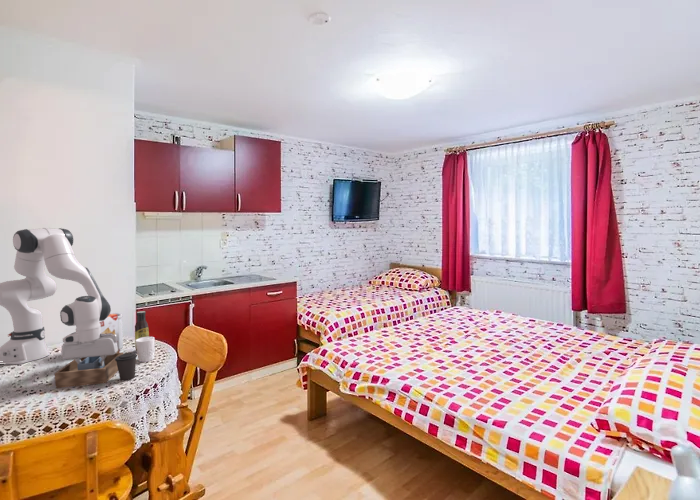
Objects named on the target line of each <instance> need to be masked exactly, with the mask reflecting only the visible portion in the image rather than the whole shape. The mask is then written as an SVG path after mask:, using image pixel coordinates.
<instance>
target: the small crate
mask: <svg viewBox="0 0 700 500" xmlns="http://www.w3.org/2000/svg"><path fill="white" fill-rule="evenodd" d="M101 360H102V358H101V356H96V357H87V358H86V359H84V360H83V361H82V362H80V363H79V364H78V365H77V366H78V370H88V369H98V368H103V367H104V366H105V364H104V365H103V366H99V364H98V362H100V361H101Z"/></svg>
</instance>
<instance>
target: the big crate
mask: <svg viewBox="0 0 700 500" xmlns="http://www.w3.org/2000/svg"><path fill="white" fill-rule="evenodd" d="M123 354H124V352H120V353H115V354H114V355H107V356H106V358H105V360H104V364H105V366H104V367H103V368H98V369H88V370H78V366H77V365H78V363H77V362H76V361H75V358H73V360H72V361H70V362H69V363H67V364H65V366H63V367H61V368H60V369H59V370H57V371H56V372H54V384H55V389H61V388H62V389H63V388H72V387H80V386H89V385H102V384H107V383H108V382H109V381H110V380H111V379H112V378H113V377H114V376H115V375H116V374H117V373H119V372H118V367H117V362H116V361H115V358H116V357H118V356H120V355H123ZM86 358H87V357H85V358H81V359H80V360H81V361H83V360H84V359H86Z"/></svg>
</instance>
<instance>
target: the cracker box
mask: <svg viewBox="0 0 700 500" xmlns="http://www.w3.org/2000/svg"><path fill="white" fill-rule="evenodd" d="M99 322H100V325H101V334H109V333H112V334H115V335H116V338H117V341H116V343H117V347H118V351H117V352H116V353H121V352H120V350H121V349H119V333H118V316H117V314H109V316H108V317H107V318H106V319H105V320H103V321H99Z"/></svg>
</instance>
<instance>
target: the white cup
mask: <svg viewBox="0 0 700 500" xmlns="http://www.w3.org/2000/svg"><path fill="white" fill-rule="evenodd" d="M155 339H156V338H155V337H154V336H149V337H142V338H139V339H137V340H136V348H137V352H136V355H137V359H138V361H137V362H140V363H147V362H150V361H153V360H154V359H155V351H156V350H155V347H156V345H155V344H156V343H155ZM136 348H135V349H136Z"/></svg>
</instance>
